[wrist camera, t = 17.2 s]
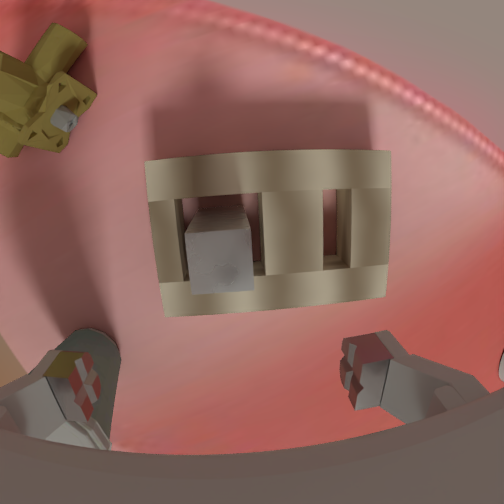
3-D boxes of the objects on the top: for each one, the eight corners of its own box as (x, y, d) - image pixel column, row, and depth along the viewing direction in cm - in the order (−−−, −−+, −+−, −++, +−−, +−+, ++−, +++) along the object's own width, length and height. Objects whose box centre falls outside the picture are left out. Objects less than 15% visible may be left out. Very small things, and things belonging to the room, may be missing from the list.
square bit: (243, 204, 29) (250, 228, 20) (245, 247, 30) (254, 290, 21) (198, 208, 29) (184, 233, 19) (202, 251, 30) (191, 294, 21)
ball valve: (6, 138, 26) (59, 184, 27) (-60, 127, 16) (-13, 182, 17) (69, 38, 24) (132, 72, 25) (17, -3, 14) (83, 23, 15)
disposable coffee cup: (106, 296, 31) (39, 387, 16) (159, 375, 34) (133, 482, 19) (41, 328, 31) (-26, 407, 17) (92, 397, 34) (53, 487, 20)
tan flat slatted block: (371, 150, 28) (390, 150, 25) (369, 281, 32) (385, 296, 28) (155, 160, 27) (144, 161, 24) (171, 298, 31) (164, 317, 27)
